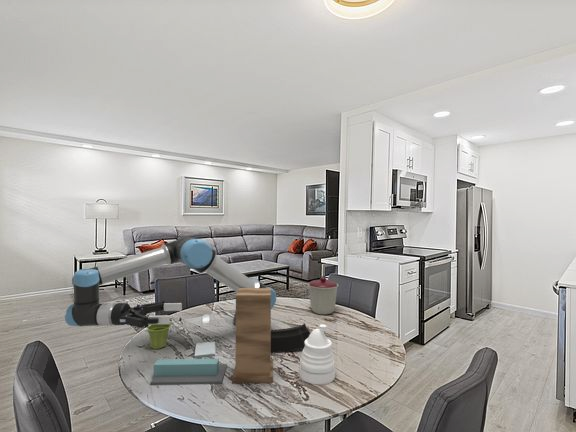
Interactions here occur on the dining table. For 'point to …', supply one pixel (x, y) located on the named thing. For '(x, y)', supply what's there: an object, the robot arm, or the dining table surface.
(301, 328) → the magazine
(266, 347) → the stand
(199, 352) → the hard drive
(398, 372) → the dining table surface
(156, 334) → the plant pot
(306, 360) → the honey pot
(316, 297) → the canister
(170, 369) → the teal square bar
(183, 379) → the pad
